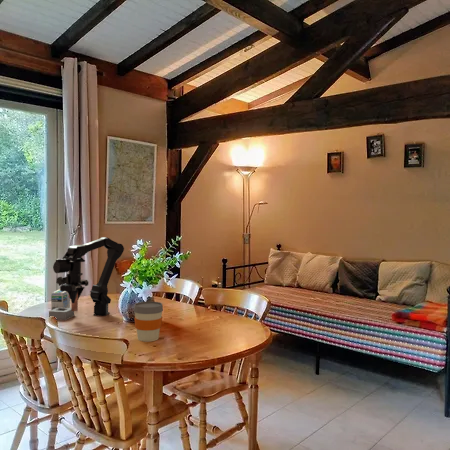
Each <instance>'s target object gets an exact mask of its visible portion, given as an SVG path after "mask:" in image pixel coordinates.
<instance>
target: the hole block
mask: <svg viewBox="0 0 450 450" xmlns="http://www.w3.org/2000/svg"><path fill="white" fill-rule="evenodd" d="M50 316H54V317H56V318H57V319H56V320H59V321H60V320H62V321H63V320H64V321H67V320H68V319H70V318H71V319H72V317H74V316H75V311H71V307H70V308H63V307H57V308H55V309H53V310H51V309H50V310H48V318H49V317H50Z"/></svg>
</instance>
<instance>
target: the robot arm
mask: <svg viewBox="0 0 450 450" xmlns="http://www.w3.org/2000/svg"><path fill="white" fill-rule="evenodd" d="M99 248H105V249H106V250H107V251H106V254H107V259H106V262H105V264H104V266H103V269H102V272H101V274H100V277H99V280H98V282H97V284H93V285H92V287H91V289H90V291H89V293H90V294H89V296H90V299H91V300H92V303H94V305H93V316H98V317H99V316H101V317H102V316H103V317H106V316H107V315H109V314H110V313H111V312H109V304H111V301H112V299H111V298H110V296H108V293H109V289H108V288H109V287H108V285H109V282H110V279H111V277H112V274H113V271H114V269H115V266H116V263H117V261H118V260H119V259H120V258H121V256H122V255H123V253H124V251H125V247H124V245H123V244H122V243H118V242H117V241H115V240H112V239H111V238H109V237H106V236H102V237H100V238H98V239H95V240H92V241H90V242H87V243H84V244H75V245H70V246H69V247H68V248H67V249H66V252H65V254H64V256H63V257H61V258H56V259H55V261H54V263H53V265H52V269H53V272H54V273H55V274H63V273H66V276H65V277H62V276H58V277H56V284H57V285H58V286H60V287H59V289H60V291H66V292H68V293H69V296H70V303H71V302H72V303H74V302H75V299H76V296H77V293H78V300H79V299H80V297H81V295H82V294H83V291H84V289H85V287H87V286H89V281H88V279H82V276H83V272H82V263H84V262H86V260H85V259H84V258H83V257H84V256H86V255H87V253H89V252H92V251H94V250H97V249H99ZM84 286H85V287H84Z"/></svg>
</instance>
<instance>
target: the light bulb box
mask: <svg viewBox="0 0 450 450" xmlns="http://www.w3.org/2000/svg"><path fill="white" fill-rule="evenodd" d="M50 293H51V294H50V295H51V296H50V297H51V300H50V301H51V304H50V306H51V307H50V308H51V309H50V310H53V309H55V308H57V307H63V308H71V299H70V296H69V293H68V292H66V291H60V288H59V289H57V290H55V291H52V292H50Z"/></svg>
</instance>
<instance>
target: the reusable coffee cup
mask: <svg viewBox="0 0 450 450" xmlns="http://www.w3.org/2000/svg"><path fill="white" fill-rule="evenodd" d="M163 311H164V307H163V303H162V302H159V301H140V302H136V303H134V306H133V312H134V327H135V329H136V334H137V335H136V336H137V337H136V338H137V340H138V341H140V342H144V343H145V342H147V343H149V342H155V341H157V340H159V337H160V331H161V330H160V329H161V328H162V321H163V316H162V315H163Z"/></svg>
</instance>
